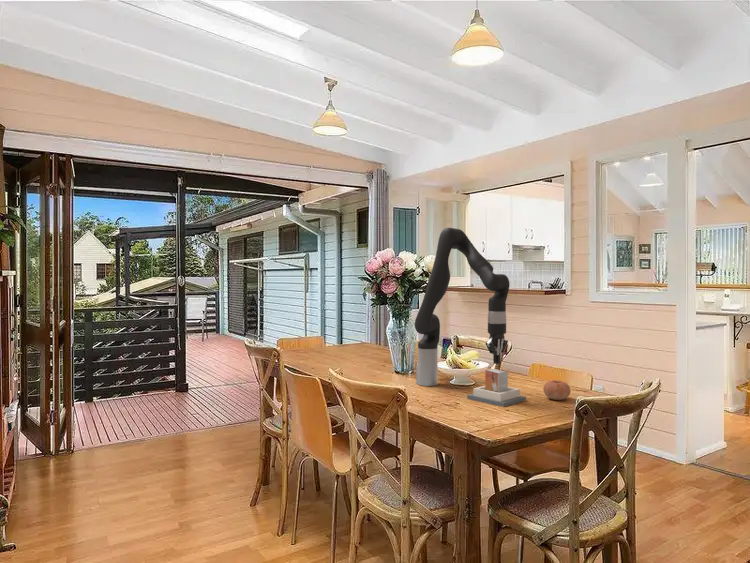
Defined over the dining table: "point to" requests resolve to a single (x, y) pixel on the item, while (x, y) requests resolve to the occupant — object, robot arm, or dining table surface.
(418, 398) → the dining table surface
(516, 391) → the socket board
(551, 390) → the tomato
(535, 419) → the dining table surface
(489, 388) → the small box
